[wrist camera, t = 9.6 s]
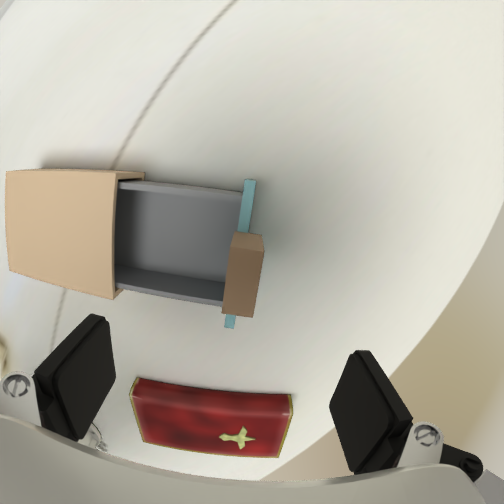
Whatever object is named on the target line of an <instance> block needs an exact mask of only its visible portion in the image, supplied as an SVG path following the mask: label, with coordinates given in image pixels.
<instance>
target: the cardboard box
mask: <svg viewBox="0 0 504 504" xmlns="http://www.w3.org/2000/svg"><path fill="white" fill-rule="evenodd" d="M144 177H145V173H144V172H130V171H114V170H93V169H28V170H16V171H6V181H5V227H6V242H7V253H8V262H9V270H10V271H12V272H15V273H18V274H21V275H24V276H27V277H31V278H34V279H37V280H40V281H44V282H47V283H50V284H54V285H57V286H61V287H64V288H68V289H72V290H75V291H79V292H83V293H87V294H91V295H95V296H99V297H103V298H107V299H111V300H114V299H115V298H116V297H117V296H118V295H119V294H120V293H121V292H122V291H123V290H124V289H121V288H117V287H115V275H114V235H115V211H116V196H117V184H118V179H127V180H139V181H144Z"/></svg>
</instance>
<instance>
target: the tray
mask: <svg viewBox="0 0 504 504" xmlns="http://www.w3.org/2000/svg"><path fill="white" fill-rule="evenodd" d="M255 186H256V181H255V180H250V179H246V180H245V183H244V190H243V192H236V191H229V190H222V189H214V188H206V187H198V186H189V185H180V184H171V183H161V182H151V181H139V180H127V179H118V184H117V196H116V211H115V235H114V275H115V287H117V288H121V289H126V290H131V291H136V292H141V293H146V294H151V295H156V296H162V297H167V298H173V299H178V300H184V301H190V302H196V303H202V304H208V305H215V306H221V307H222V313H223V314H226V318H225V326H224V327H226V328H233V329H234V324H235V317H236V315H237V316H244V317H251V318H253V314H254V308H255V303H256V297H257V291H258V286H259V280H260V274H261V268H262V263H263V257H264V246H263V240H262V235H258V234H252V233H248V231H249V224H250V218H251V211H252V205H253V198H254V192H255Z"/></svg>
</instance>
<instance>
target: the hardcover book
mask: <svg viewBox="0 0 504 504" xmlns="http://www.w3.org/2000/svg"><path fill="white" fill-rule="evenodd" d="M129 396H130V400H131V404H132V407H133V411H134V414H135V418H136V421H137V424H138V428H139V431H140V434H141V437H142V440H143V442H146V443H150V444H154V445H159V446H163V447H168V448H174V449H179V450H185V451H192V452H198V453H206V454H215V455H225V456H237V457H258V458H279V455H280V452H281V449H282V447H283V444H284V441H285V438H286V435H287V432H288V428H289V425H290V422H291V419H292V416H293V405H292V399H291V395H287V394H257V393H241V392H229V391H219V390H210V389H202V388H194V387H187V386H180V385H174V384H168V383H163V382H157V381H152V380H147V379H142V378H136V379H135V381H134V383H133V385H132V387H131V390H130V393H129Z"/></svg>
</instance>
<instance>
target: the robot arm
mask: <svg viewBox="0 0 504 504" xmlns="http://www.w3.org/2000/svg"><path fill="white" fill-rule="evenodd" d="M34 373H35V374H34V375H33V376H32V377H31V376H30V375H28V374H27V373H24V372H17V371H16V372H11V373H9V374H7V375H5V376H4V377H3V378H2V379H1V381H0V504H504V480H502V479H501V478H499V477H498V476H496V475H495V474H493V473H491V472H490V471H488V470H485V471H484V472H483V465H482V462H481V460H480V459H479V458H478V457H477V456H475V455H473V454H471V453H468V452H465V451H462V450H460V449H457V448H454V447H451V446H449V445H446V444H444V443H443V441H444V437H443V434H442V432H441V430H440V429H439V428H438V427H437V426H436V425H434V424H431V423H429V422H418V423H416V424H414V425H413V423H412V422H411V421H412V420H413V417H412V416H411V414H410V412H409V411H408V409H407V407H406V406H405V404H404V403H403V401H402V399H401V398H400V396H399V395H398V393H397V392H396V390H395V389H394V387H393V385H392V384H391V382H390V381H389V379H388V377H387V376H386V374H385V373H384V371H383V370H382V368H381V367H380V365H379V364H378V362H377V361H376V359H375V358H374V356H373V355H372V353H371V352H370V351H368V350H356V351H355V352H354V353H353V354H350V356H349V358H348V360H347V363H346V365H345V368H344V370H343V373H342V375H341V378H340V380H339V382H338V385H337V387H336V389H335V392H334V394H333V396H332V398H331V401H330V404H329V409H330V412H331V415H332V418H333V421H334V424H335V427H336V430H337V433H338V436H339V439H340V442H341V445H342V448H343V451H344V455H345V457H346V461H347V463H348V467H349V470H350V471H351V472H354V475H351V476H344V477H336V478H328V479H318V480H302V481H247V480H232V479H221V478H212V477H204V476H197V475H191V474H185V473H179V472H174V471H169V470H164V469H160V468H156V467H151V466H147V465H143V464H140V463H136V462H132V461H129V460H126V459H122V458H119V457H116V456H113V455H110V454H107V453H104V452H101V451H99V450H98V449H96V447H95V446H98V445H99V444H100V442H101V435H100V433H99V431H98V430H97V428H96V427H95V426H94V425H93V424H92V422H93V420H94V418H95V416H96V414H97V412H98V411H99V409H100V407H101V405H102V403H103V402H104V400H105V398H106V396H107V394H108V393H109V391H110V389H111V387H112V386H113V384H114V382H115V378H116V372H115V366H114V359H113V352H112V344H111V336H110V326H109V322H108V321H106V319H105V317H103V316H99V315H95V314H90V315H88V316H87V317H86V318H85V319H84V320H83V321H82V322H81V323H80V324H79V325H78V326H77V327H76V328H75V329H74V330H73V331H72V332H71V333H70V334H69V335H68V336H67V337H66V338H65V339H64V340H63V341H62V342H61V343H60V344H59V346H58V347H57V348H56V349H55V350H54V351H53V352H52V353H51V354H50V355H49V356H48V357H47V358H46V359H45V360H44V361H43V362H42V364H41V365H40V366H39V367H38V368H37V369H36V370H35V371H34Z"/></svg>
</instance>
